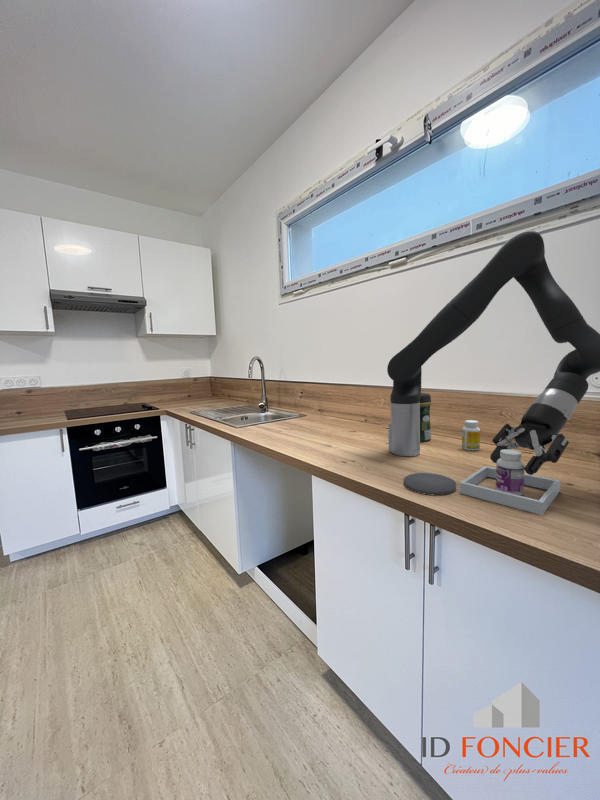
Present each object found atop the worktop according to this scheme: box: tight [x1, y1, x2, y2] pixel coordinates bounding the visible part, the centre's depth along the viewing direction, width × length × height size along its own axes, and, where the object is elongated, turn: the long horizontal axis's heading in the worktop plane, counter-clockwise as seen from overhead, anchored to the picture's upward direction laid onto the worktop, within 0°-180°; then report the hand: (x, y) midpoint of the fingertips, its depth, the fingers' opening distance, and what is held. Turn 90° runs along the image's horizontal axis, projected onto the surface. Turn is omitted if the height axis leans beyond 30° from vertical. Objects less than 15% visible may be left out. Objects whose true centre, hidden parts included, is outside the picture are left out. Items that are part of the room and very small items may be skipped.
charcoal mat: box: [403, 472, 457, 496], centre depth 79 cm, size 12×12×1 cm
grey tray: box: [459, 465, 561, 516], centre depth 73 cm, size 16×16×2 cm
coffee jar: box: [420, 392, 432, 443], centre depth 122 cm, size 10×8×19 cm
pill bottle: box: [495, 449, 525, 496], centre depth 72 cm, size 5×5×10 cm
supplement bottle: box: [461, 419, 481, 452], centre depth 107 cm, size 5×5×10 cm
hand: (509, 466), depth 72 cm, fingers open, 8 cm apart
